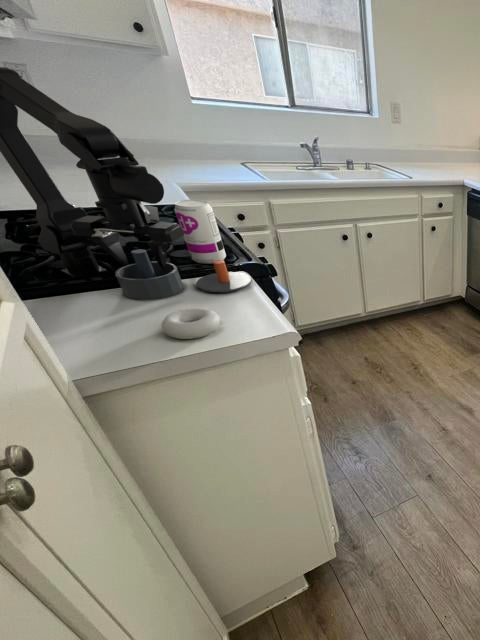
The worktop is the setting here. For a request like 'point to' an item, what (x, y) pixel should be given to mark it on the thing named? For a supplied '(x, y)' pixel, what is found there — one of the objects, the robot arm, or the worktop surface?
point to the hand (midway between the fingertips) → (145, 266)
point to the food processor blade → (143, 263)
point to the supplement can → (200, 230)
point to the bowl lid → (223, 279)
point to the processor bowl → (149, 282)
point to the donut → (191, 323)
